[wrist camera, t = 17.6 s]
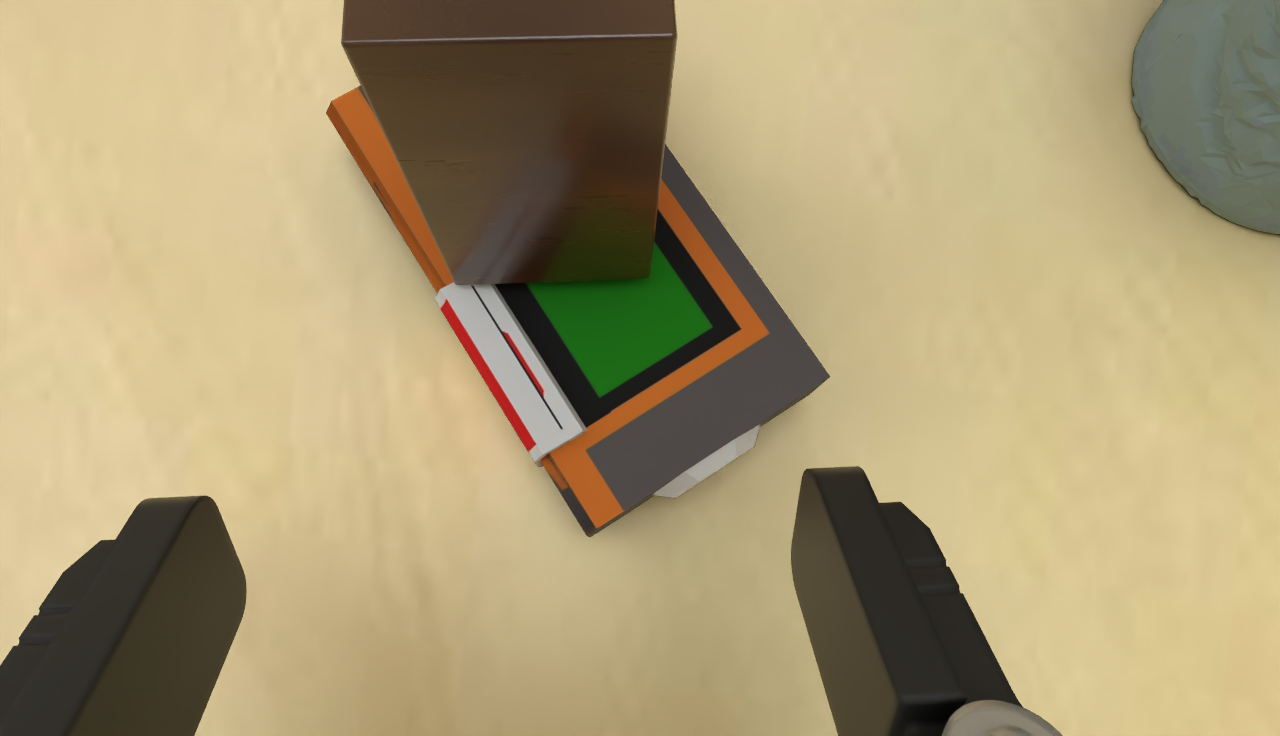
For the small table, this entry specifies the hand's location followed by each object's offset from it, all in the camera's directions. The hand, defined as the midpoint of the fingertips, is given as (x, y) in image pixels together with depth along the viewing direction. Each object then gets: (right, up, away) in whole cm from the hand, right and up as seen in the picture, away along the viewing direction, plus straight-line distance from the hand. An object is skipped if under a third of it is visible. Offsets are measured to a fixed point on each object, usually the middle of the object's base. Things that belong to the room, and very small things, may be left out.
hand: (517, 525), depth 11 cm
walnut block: (0, +6, +8) cm, 10 cm away
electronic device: (-1, +6, +11) cm, 12 cm away
